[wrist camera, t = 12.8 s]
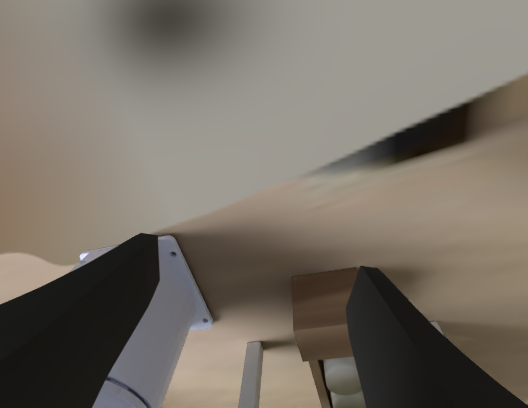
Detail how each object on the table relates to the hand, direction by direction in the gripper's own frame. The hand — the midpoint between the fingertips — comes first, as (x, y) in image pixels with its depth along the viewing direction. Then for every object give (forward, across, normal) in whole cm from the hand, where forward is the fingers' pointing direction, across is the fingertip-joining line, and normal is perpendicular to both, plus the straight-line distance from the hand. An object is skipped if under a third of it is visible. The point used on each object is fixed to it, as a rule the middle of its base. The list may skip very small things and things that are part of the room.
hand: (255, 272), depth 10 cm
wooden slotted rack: (+10, -8, +15) cm, 20 cm away
